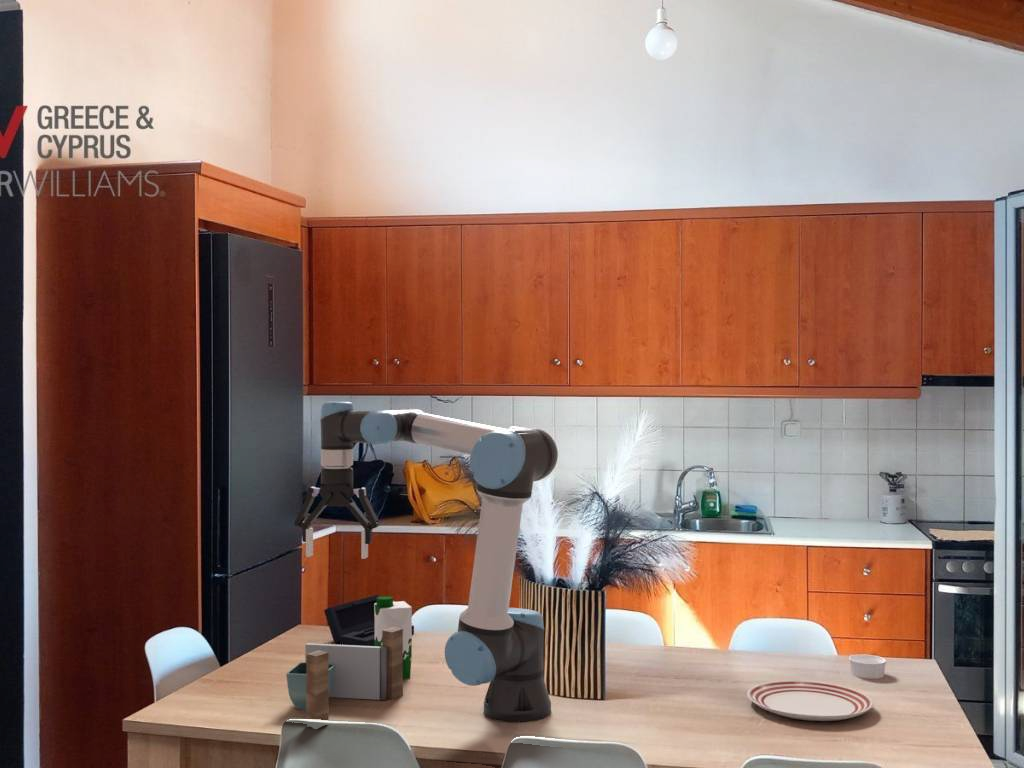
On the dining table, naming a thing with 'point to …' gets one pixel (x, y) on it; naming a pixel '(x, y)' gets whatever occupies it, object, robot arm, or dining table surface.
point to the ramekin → (867, 666)
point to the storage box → (353, 622)
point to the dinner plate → (810, 700)
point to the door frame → (320, 674)
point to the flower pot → (303, 684)
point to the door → (356, 670)
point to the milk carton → (395, 625)
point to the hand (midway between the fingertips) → (336, 557)
